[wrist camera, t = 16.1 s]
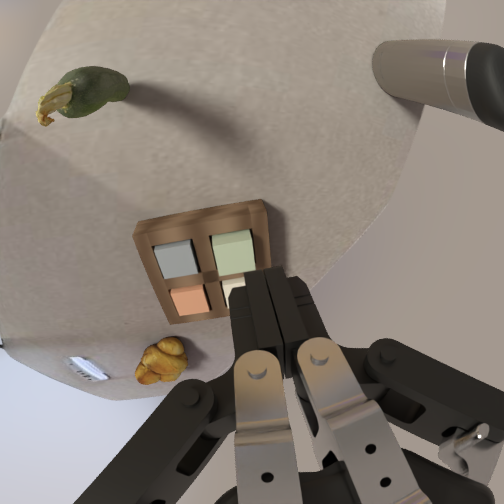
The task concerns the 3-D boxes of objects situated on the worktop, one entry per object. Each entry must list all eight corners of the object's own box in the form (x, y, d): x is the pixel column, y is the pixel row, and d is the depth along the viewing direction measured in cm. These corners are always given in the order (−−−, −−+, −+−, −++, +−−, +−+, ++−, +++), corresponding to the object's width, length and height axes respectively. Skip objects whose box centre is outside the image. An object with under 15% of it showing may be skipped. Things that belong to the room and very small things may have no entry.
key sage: (248, 227, 37) (251, 239, 35) (252, 257, 40) (255, 270, 38) (211, 233, 37) (212, 246, 34) (218, 263, 40) (219, 276, 37)
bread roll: (162, 326, 50) (159, 359, 44) (201, 344, 55) (203, 376, 49) (134, 353, 55) (130, 383, 48) (170, 368, 59) (169, 397, 53)
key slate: (190, 232, 38) (189, 244, 35) (198, 260, 41) (198, 273, 38) (157, 238, 37) (154, 250, 35) (166, 266, 40) (164, 279, 38)
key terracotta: (202, 276, 42) (202, 289, 40) (208, 298, 45) (209, 311, 43) (171, 281, 42) (170, 294, 40) (180, 302, 45) (179, 316, 43)
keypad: (261, 199, 38) (266, 211, 35) (269, 291, 49) (274, 307, 46) (138, 221, 37) (132, 236, 34) (171, 308, 48) (170, 324, 44)
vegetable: (114, 69, 24) (20, 66, 8) (146, 72, 26) (74, 63, 10) (106, 101, 27) (11, 133, 11) (137, 105, 28) (61, 136, 12)
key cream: (253, 267, 43) (256, 279, 40) (256, 290, 46) (258, 303, 43) (221, 272, 43) (222, 285, 40) (226, 295, 46) (228, 308, 43)
